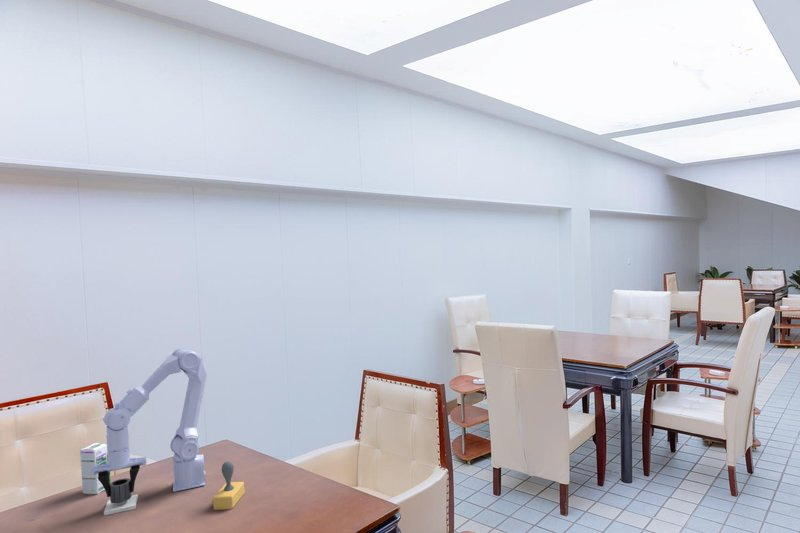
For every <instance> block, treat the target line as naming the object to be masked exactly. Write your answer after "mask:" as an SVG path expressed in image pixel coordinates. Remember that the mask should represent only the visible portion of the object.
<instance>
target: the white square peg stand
mask: <svg viewBox="0 0 800 533" xmlns="http://www.w3.org/2000/svg"><path fill="white" fill-rule="evenodd" d="M131 496H132V497H131V498H130V499H128V500H127V501H124V502H120V503H111V502H110V499H109V500H107V501H106V502H107V503H106V505H105V508H104V510H103V516H108V515H112V514H118V513H122V512H127V511H131V510H136V506H137V504H138V498H139V494H133V495H132V494H131Z"/></svg>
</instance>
